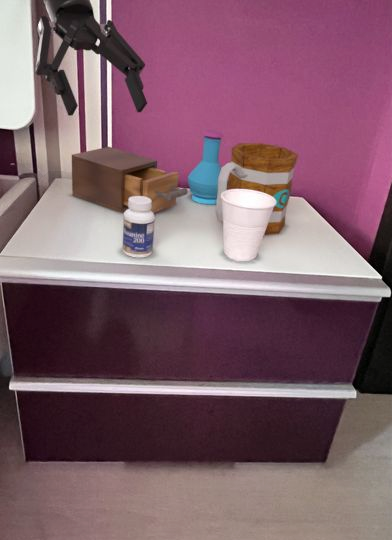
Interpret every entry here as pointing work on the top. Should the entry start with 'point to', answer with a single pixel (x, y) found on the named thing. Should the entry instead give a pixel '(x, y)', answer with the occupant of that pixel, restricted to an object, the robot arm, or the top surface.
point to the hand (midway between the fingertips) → (109, 109)
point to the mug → (260, 177)
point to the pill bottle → (138, 227)
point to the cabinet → (105, 175)
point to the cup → (245, 222)
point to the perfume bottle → (207, 170)
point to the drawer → (153, 187)
